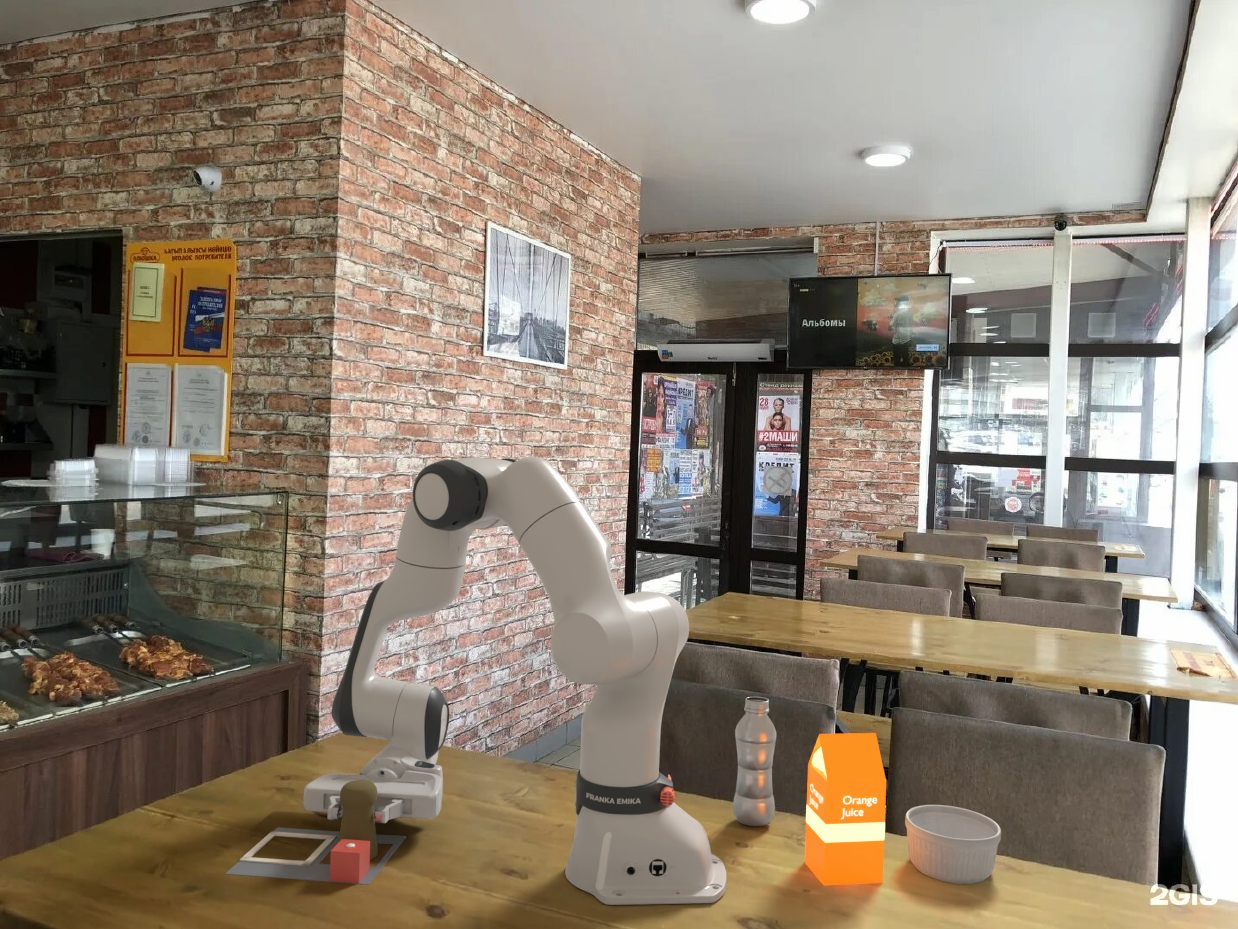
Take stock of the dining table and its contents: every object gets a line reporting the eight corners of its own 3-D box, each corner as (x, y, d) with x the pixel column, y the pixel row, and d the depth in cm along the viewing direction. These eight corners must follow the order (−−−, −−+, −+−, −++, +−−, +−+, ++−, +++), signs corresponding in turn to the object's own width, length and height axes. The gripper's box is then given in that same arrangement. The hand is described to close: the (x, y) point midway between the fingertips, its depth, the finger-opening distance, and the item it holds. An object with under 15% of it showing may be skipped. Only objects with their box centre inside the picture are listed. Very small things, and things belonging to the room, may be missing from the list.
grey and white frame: (406, 841, 146) (406, 835, 146) (369, 890, 130) (369, 883, 130) (277, 832, 148) (277, 826, 148) (225, 879, 132) (225, 872, 132)
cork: (355, 872, 135) (357, 793, 135) (325, 861, 138) (327, 784, 138) (387, 857, 140) (389, 781, 140) (358, 847, 144) (360, 772, 143)
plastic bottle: (777, 832, 154) (781, 705, 153) (734, 830, 154) (738, 704, 153) (771, 816, 160) (775, 695, 160) (730, 815, 160) (734, 693, 160)
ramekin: (1013, 869, 143) (1015, 821, 143) (978, 898, 133) (980, 848, 133) (926, 842, 152) (928, 797, 152) (887, 868, 142) (889, 820, 142)
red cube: (369, 870, 134) (370, 840, 134) (359, 883, 130) (359, 852, 130) (341, 868, 135) (341, 838, 134) (329, 880, 131) (330, 850, 131)
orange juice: (883, 883, 137) (888, 741, 136) (823, 886, 135) (828, 742, 135) (860, 859, 145) (865, 725, 144) (803, 861, 143) (808, 726, 143)
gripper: (323, 758, 153) (285, 789, 139) (452, 766, 151) (426, 798, 137) (322, 798, 153) (284, 833, 139) (451, 806, 151) (425, 843, 137)
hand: (356, 816), depth 138 cm, fingers open, 5 cm apart
